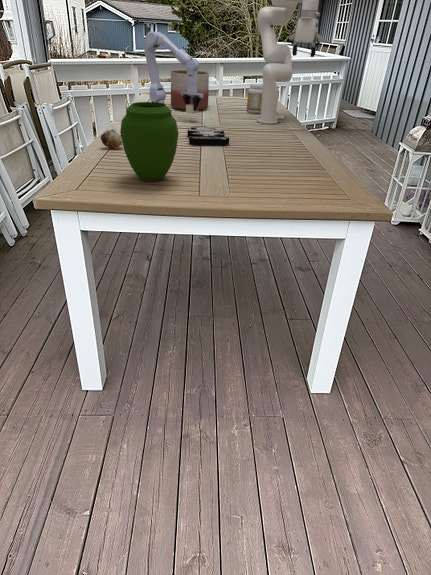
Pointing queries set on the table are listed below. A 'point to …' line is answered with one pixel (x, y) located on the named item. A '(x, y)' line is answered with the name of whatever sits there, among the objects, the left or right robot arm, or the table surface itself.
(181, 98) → the planter
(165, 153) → the vase
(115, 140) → the seashell
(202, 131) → the sign
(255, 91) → the supplement tub
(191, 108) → the grey square block
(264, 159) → the table surface
